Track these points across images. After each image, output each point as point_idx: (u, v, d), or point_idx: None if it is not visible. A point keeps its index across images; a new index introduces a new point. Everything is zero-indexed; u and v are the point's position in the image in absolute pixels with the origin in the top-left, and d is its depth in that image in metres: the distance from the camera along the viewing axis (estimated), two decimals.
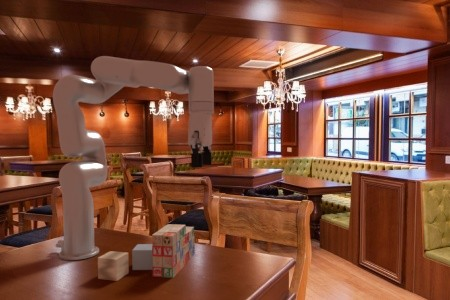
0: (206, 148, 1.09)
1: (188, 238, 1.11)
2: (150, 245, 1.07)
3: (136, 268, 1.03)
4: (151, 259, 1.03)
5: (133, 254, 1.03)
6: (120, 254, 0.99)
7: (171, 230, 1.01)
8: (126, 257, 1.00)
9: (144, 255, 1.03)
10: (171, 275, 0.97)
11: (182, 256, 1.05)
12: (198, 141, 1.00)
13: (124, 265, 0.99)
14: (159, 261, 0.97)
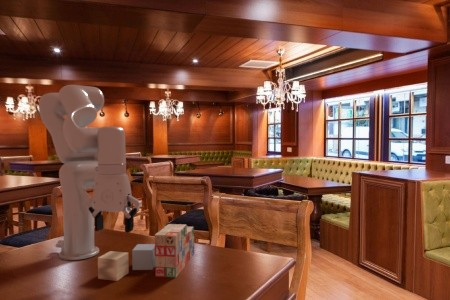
0: None
1: (189, 238, 1.11)
2: (150, 245, 1.07)
3: (136, 268, 1.03)
4: (151, 259, 1.03)
5: (133, 254, 1.03)
6: (120, 254, 0.99)
7: (173, 230, 1.01)
8: (126, 257, 1.00)
9: (144, 255, 1.03)
10: (174, 275, 0.97)
11: (183, 256, 1.05)
12: None
13: (124, 265, 0.99)
14: (162, 261, 0.97)
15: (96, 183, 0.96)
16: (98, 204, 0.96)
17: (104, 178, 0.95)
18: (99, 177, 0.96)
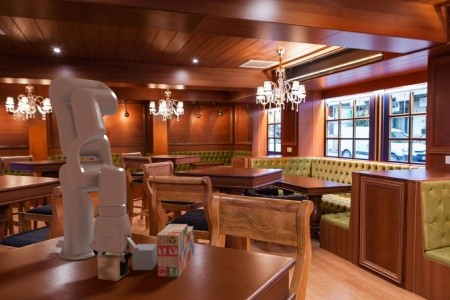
0: None
1: (189, 237, 1.12)
2: (150, 245, 1.07)
3: (136, 268, 1.03)
4: (151, 259, 1.03)
5: None
6: None
7: (175, 230, 1.01)
8: None
9: (145, 255, 1.03)
10: (176, 274, 0.97)
11: (185, 255, 1.05)
12: None
13: None
14: (164, 261, 0.97)
15: (96, 224, 0.97)
16: (98, 245, 0.97)
17: (105, 219, 0.96)
18: (99, 218, 0.96)
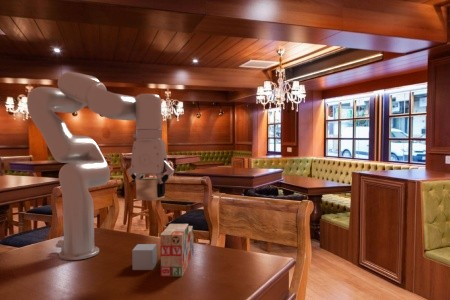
0: (139, 178, 1.04)
1: (190, 237, 1.12)
2: (150, 245, 1.07)
3: (136, 268, 1.03)
4: (151, 259, 1.03)
5: (133, 254, 1.03)
6: None
7: (178, 230, 1.02)
8: None
9: (145, 255, 1.03)
10: (180, 274, 0.98)
11: (186, 255, 1.06)
12: None
13: None
14: (168, 260, 0.98)
15: (134, 148, 1.01)
16: (136, 167, 1.01)
17: (142, 142, 1.00)
18: (137, 142, 1.01)
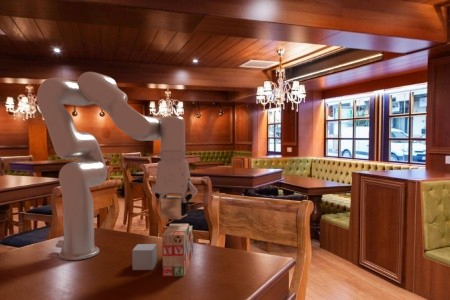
0: None
1: (190, 237, 1.12)
2: (150, 245, 1.07)
3: (136, 268, 1.03)
4: (151, 259, 1.03)
5: (133, 254, 1.03)
6: (180, 197, 1.07)
7: (179, 229, 1.02)
8: None
9: (145, 255, 1.03)
10: (182, 273, 0.98)
11: (187, 255, 1.06)
12: None
13: None
14: (170, 260, 0.98)
15: (159, 168, 1.05)
16: (161, 187, 1.05)
17: (167, 163, 1.04)
18: (162, 162, 1.05)
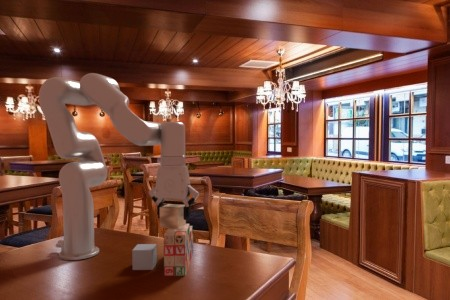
0: None
1: (190, 237, 1.13)
2: (150, 245, 1.07)
3: (136, 268, 1.03)
4: (151, 259, 1.03)
5: (133, 254, 1.03)
6: (179, 206, 1.07)
7: (180, 229, 1.02)
8: None
9: (145, 255, 1.03)
10: (183, 273, 0.98)
11: (188, 254, 1.06)
12: None
13: (182, 216, 1.07)
14: (171, 260, 0.98)
15: (159, 173, 1.05)
16: (161, 192, 1.05)
17: (167, 168, 1.04)
18: (162, 168, 1.05)
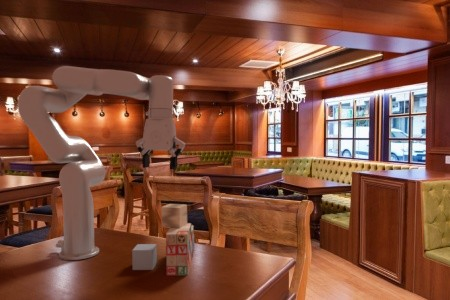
0: None
1: (192, 236, 1.13)
2: (150, 245, 1.07)
3: (136, 268, 1.03)
4: (151, 259, 1.03)
5: (133, 254, 1.03)
6: (181, 205, 1.08)
7: (182, 229, 1.02)
8: (185, 208, 1.09)
9: (145, 255, 1.03)
10: (186, 273, 0.99)
11: (190, 254, 1.07)
12: None
13: (184, 215, 1.08)
14: (174, 260, 0.98)
15: (146, 125, 1.09)
16: (147, 143, 1.09)
17: (154, 120, 1.08)
18: (149, 120, 1.09)
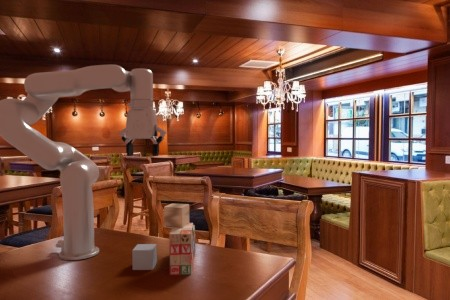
0: None
1: (193, 236, 1.14)
2: (150, 245, 1.07)
3: (136, 268, 1.03)
4: (151, 259, 1.03)
5: (133, 254, 1.03)
6: (183, 205, 1.08)
7: (185, 228, 1.03)
8: (188, 208, 1.09)
9: (145, 255, 1.03)
10: (189, 272, 0.99)
11: None
12: None
13: (186, 215, 1.08)
14: (177, 259, 0.99)
15: (129, 115, 1.16)
16: (130, 132, 1.16)
17: (136, 110, 1.16)
18: (131, 110, 1.16)
